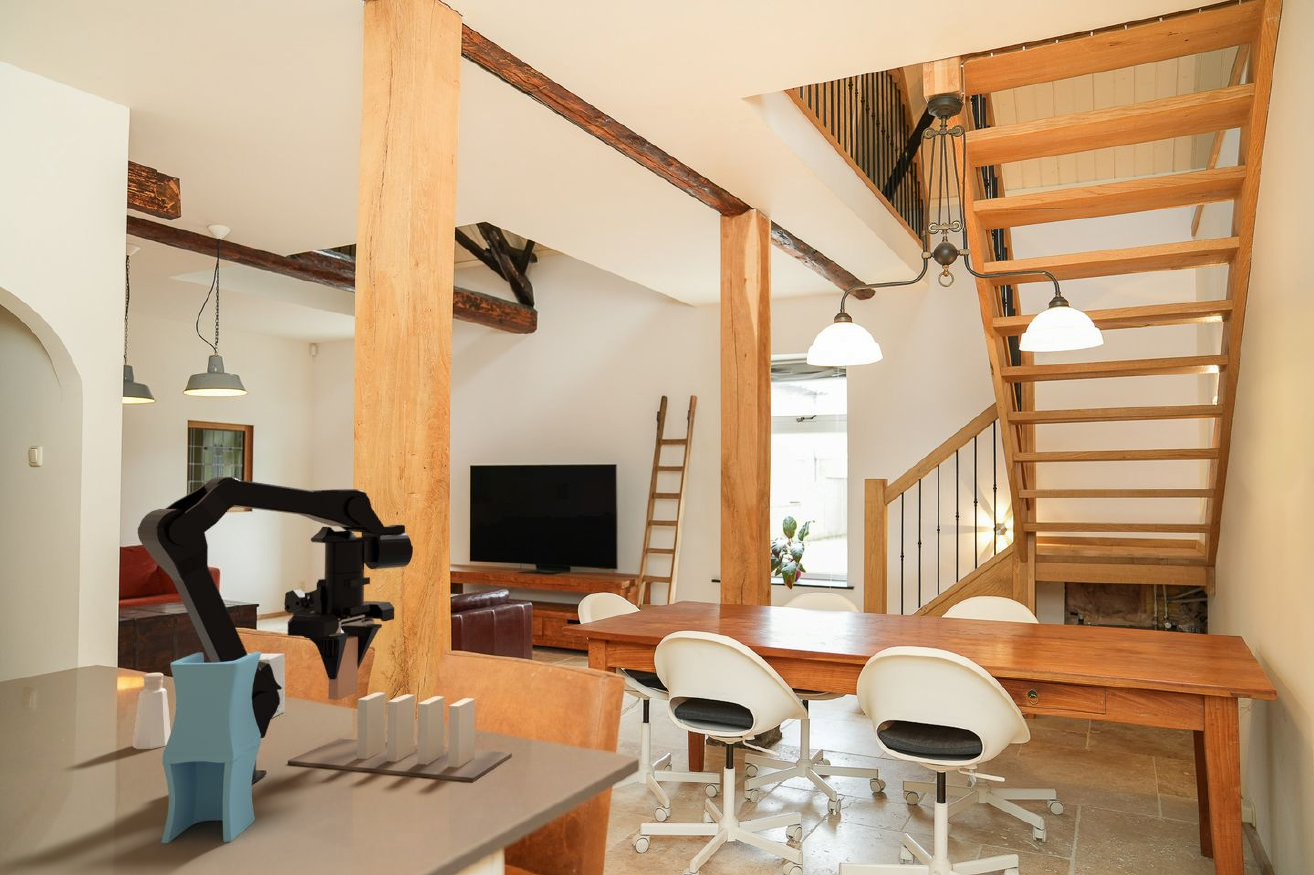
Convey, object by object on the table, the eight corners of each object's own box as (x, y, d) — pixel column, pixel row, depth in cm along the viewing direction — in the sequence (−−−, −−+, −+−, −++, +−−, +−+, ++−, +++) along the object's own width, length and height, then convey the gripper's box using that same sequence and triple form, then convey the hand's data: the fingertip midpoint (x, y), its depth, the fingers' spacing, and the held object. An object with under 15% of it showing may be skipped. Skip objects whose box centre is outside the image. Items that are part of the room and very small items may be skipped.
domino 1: (385, 749, 137) (385, 692, 137) (366, 759, 132) (367, 700, 132) (376, 749, 137) (376, 692, 137) (357, 758, 132) (357, 699, 133)
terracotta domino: (357, 692, 138) (357, 636, 139) (337, 699, 134) (338, 641, 134) (348, 692, 139) (349, 636, 139) (328, 699, 134) (329, 641, 135)
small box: (285, 712, 162) (286, 653, 163) (269, 720, 157) (270, 659, 157) (243, 711, 163) (244, 652, 164) (225, 719, 158) (226, 658, 158)
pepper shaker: (153, 738, 146) (155, 669, 146) (179, 741, 144) (180, 671, 144) (123, 748, 140) (125, 676, 141) (150, 751, 139) (151, 678, 139)
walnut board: (511, 756, 135) (511, 752, 135) (473, 781, 123) (473, 777, 123) (338, 741, 143) (338, 738, 143) (287, 764, 132) (287, 760, 132)
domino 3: (444, 754, 134) (444, 696, 134) (427, 764, 129) (427, 704, 130) (434, 754, 134) (435, 696, 135) (417, 763, 130) (417, 703, 130)
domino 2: (414, 752, 135) (414, 694, 136) (396, 761, 131) (397, 702, 131) (405, 751, 136) (405, 694, 136) (386, 760, 131) (387, 701, 131)
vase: (259, 816, 111) (262, 651, 112) (231, 841, 103) (234, 663, 104) (194, 817, 110) (197, 652, 111) (160, 843, 102) (164, 664, 103)
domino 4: (474, 757, 132) (475, 698, 133) (458, 767, 128) (458, 706, 128) (465, 756, 133) (465, 698, 133) (448, 766, 128) (448, 705, 129)
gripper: (337, 565, 149) (335, 661, 148) (256, 576, 131) (254, 685, 130) (396, 566, 145) (395, 665, 145) (322, 578, 128) (320, 690, 127)
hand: (343, 675), depth 136 cm, fingers closed on terracotta domino, 5 cm apart
